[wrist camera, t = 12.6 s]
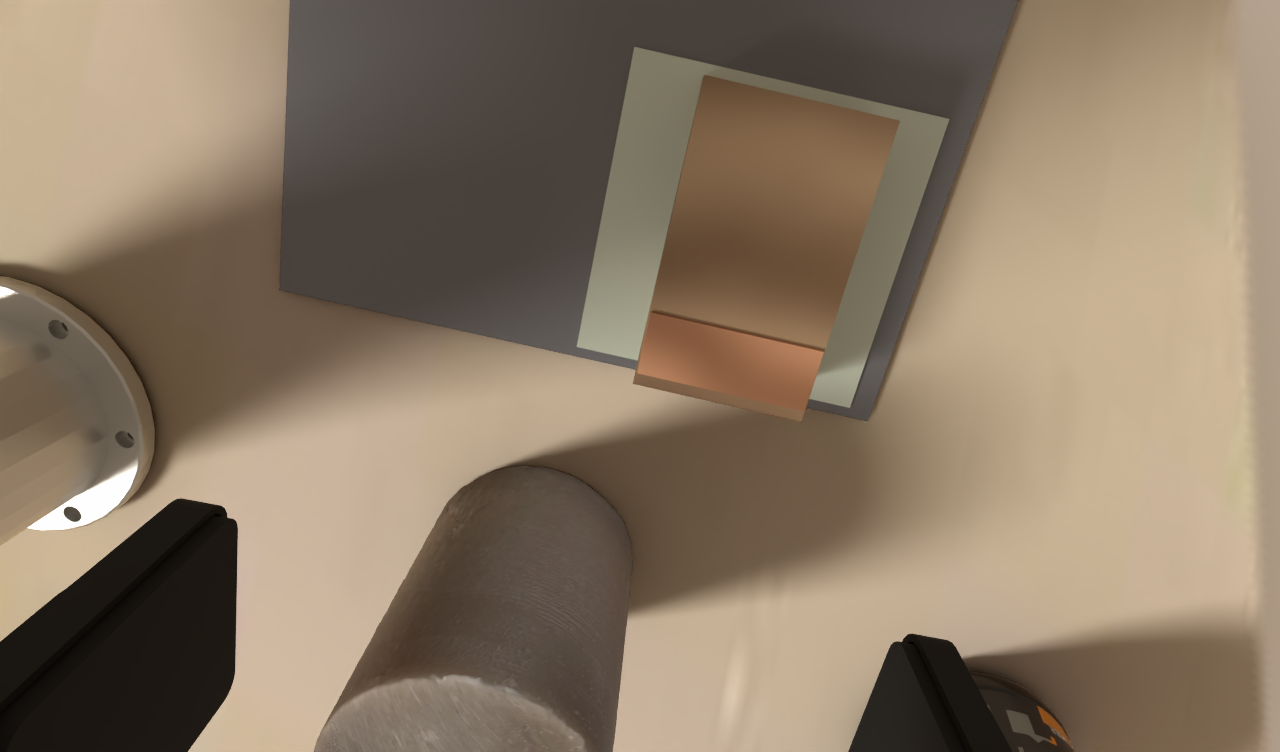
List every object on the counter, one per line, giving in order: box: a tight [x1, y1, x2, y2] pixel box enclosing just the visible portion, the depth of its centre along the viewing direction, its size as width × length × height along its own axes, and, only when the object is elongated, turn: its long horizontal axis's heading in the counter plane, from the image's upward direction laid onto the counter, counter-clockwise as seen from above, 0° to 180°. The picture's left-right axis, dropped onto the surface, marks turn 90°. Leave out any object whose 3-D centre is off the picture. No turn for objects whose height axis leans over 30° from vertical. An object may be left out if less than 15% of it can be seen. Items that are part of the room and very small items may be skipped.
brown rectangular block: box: [633, 75, 900, 422], centre depth 28 cm, size 11×6×4 cm, turn 168°
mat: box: [279, 0, 1018, 421], centre depth 29 cm, size 26×20×1 cm
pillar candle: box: [314, 466, 632, 752], centre depth 30 cm, size 10×10×15 cm
